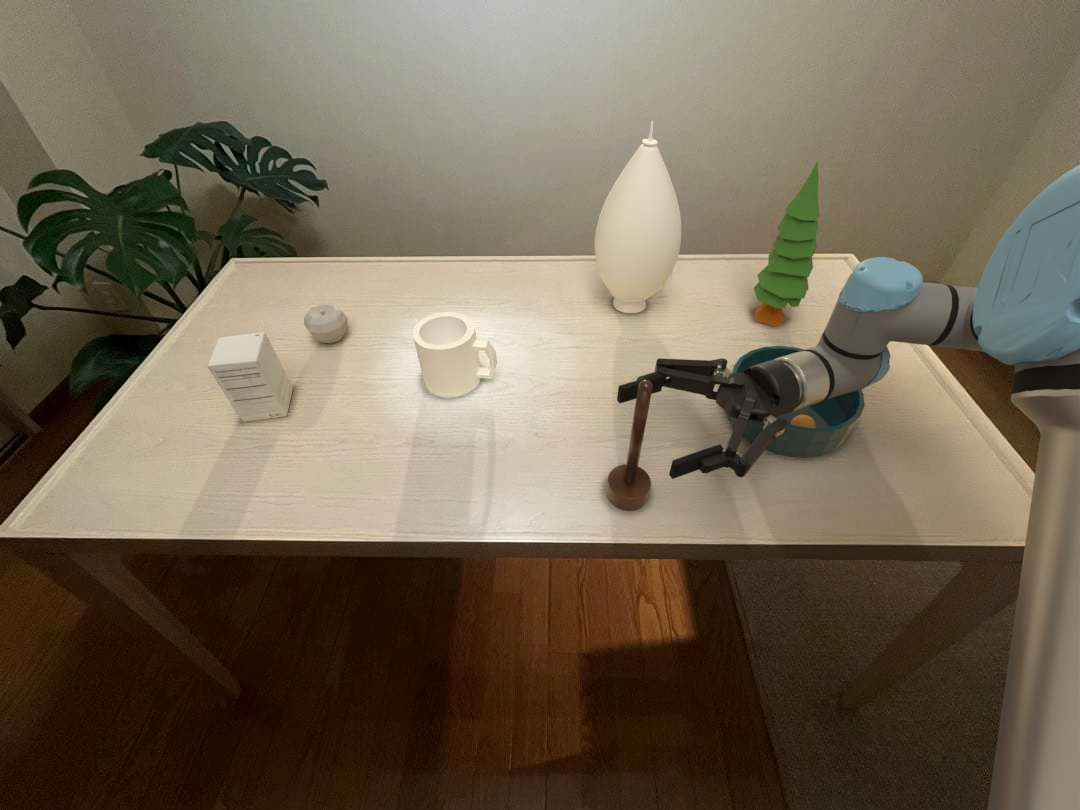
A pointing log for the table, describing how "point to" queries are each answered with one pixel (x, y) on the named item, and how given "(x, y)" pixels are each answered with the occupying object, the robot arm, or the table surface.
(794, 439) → the bowl
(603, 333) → the table surface
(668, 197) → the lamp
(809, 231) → the decorative tree
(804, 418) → the dough ball
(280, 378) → the white packaging box
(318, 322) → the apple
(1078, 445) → the robot arm
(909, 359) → the table surface
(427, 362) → the mug
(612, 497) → the wooden peg stand
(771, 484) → the table surface
